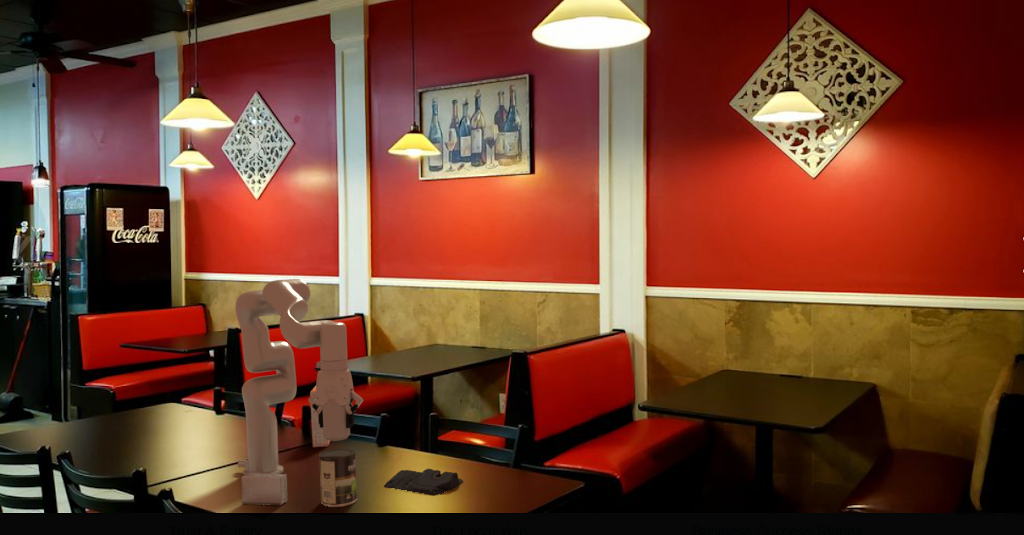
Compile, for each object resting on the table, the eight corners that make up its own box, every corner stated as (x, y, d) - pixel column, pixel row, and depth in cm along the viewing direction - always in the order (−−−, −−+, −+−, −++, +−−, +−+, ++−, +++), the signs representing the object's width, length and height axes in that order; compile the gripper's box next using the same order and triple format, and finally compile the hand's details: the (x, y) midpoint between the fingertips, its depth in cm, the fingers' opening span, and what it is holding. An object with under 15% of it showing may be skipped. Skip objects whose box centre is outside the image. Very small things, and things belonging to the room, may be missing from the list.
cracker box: (317, 438, 306) (315, 384, 305) (333, 438, 306) (331, 383, 306) (311, 447, 292) (309, 391, 291) (328, 447, 292) (326, 390, 292)
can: (343, 441, 224) (342, 399, 224) (319, 441, 226) (317, 399, 225) (354, 435, 232) (352, 394, 231) (330, 434, 233) (328, 394, 233)
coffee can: (360, 495, 234) (358, 447, 234) (352, 507, 224) (351, 457, 224) (325, 496, 235) (323, 448, 234) (316, 507, 224) (314, 458, 224)
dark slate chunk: (409, 475, 255) (409, 460, 255) (467, 483, 245) (467, 468, 245) (379, 488, 242) (379, 473, 242) (439, 498, 231) (439, 482, 231)
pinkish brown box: (242, 504, 229) (241, 476, 229) (249, 499, 233) (248, 472, 233) (280, 506, 227) (279, 478, 226) (287, 501, 230) (286, 474, 230)
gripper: (300, 367, 226) (302, 429, 227) (357, 367, 223) (359, 430, 223) (312, 363, 234) (314, 423, 234) (367, 363, 230) (370, 424, 231)
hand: (336, 426), depth 229 cm, fingers closed on can, 7 cm apart
